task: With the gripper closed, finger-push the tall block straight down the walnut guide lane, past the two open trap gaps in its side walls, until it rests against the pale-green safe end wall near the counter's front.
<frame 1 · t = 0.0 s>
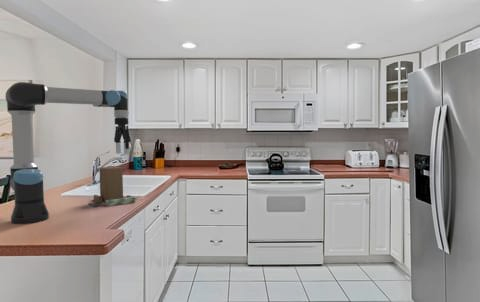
hand: (122, 154, 200), 28 cm above the worktop, fingers open, 13 cm apart
block: (111, 200, 205), on the worktop
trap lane: (113, 201, 203), on the worktop
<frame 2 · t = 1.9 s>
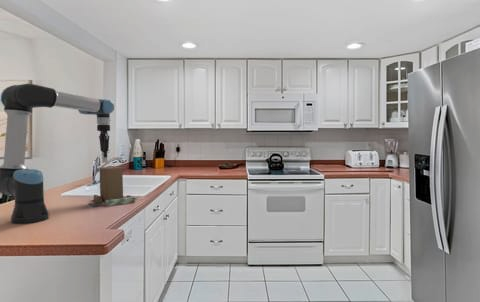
hand: (104, 162, 213), 22 cm above the worktop, fingers closed
nothing on the worktop moved.
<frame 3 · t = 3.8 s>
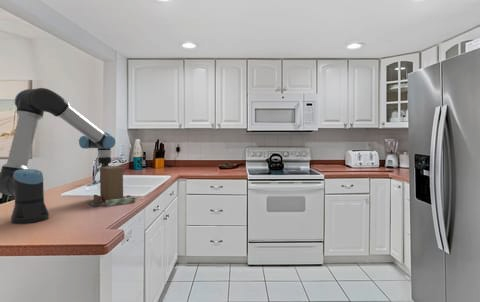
hand: (106, 194, 214), 2 cm above the worktop, fingers closed
nothing on the worktop moved.
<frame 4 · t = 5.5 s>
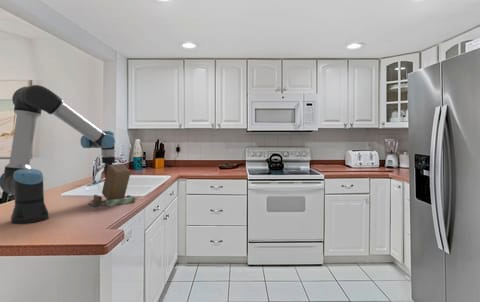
hand: (110, 194, 209), 3 cm above the worktop, fingers closed
block: (112, 197, 205), point 2 cm above the worktop, touching gripper, hand
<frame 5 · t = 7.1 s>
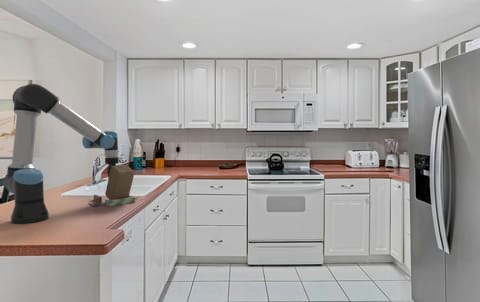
hand: (113, 196, 204), 3 cm above the worktop, fingers closed
block: (116, 198, 200), point 2 cm above the worktop, touching gripper, hand
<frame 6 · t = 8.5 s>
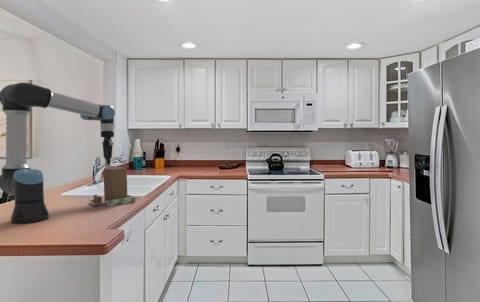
hand: (107, 169, 208), 18 cm above the worktop, fingers closed
block: (116, 202, 201), on the worktop
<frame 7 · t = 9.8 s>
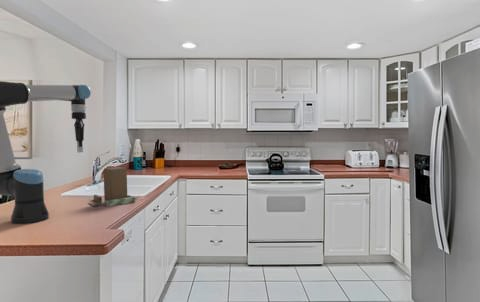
hand: (80, 152, 201), 29 cm above the worktop, fingers closed
nothing on the worktop moved.
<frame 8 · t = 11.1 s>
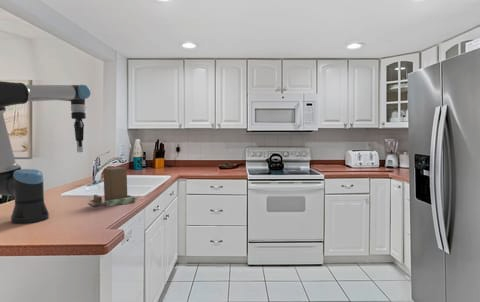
hand: (79, 152, 201), 29 cm above the worktop, fingers closed
nothing on the worktop moved.
at the end: block inside the target area (2.3 cm from its centre), on the worktop; block tilted 0°; block moved 6.6 cm from its start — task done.
